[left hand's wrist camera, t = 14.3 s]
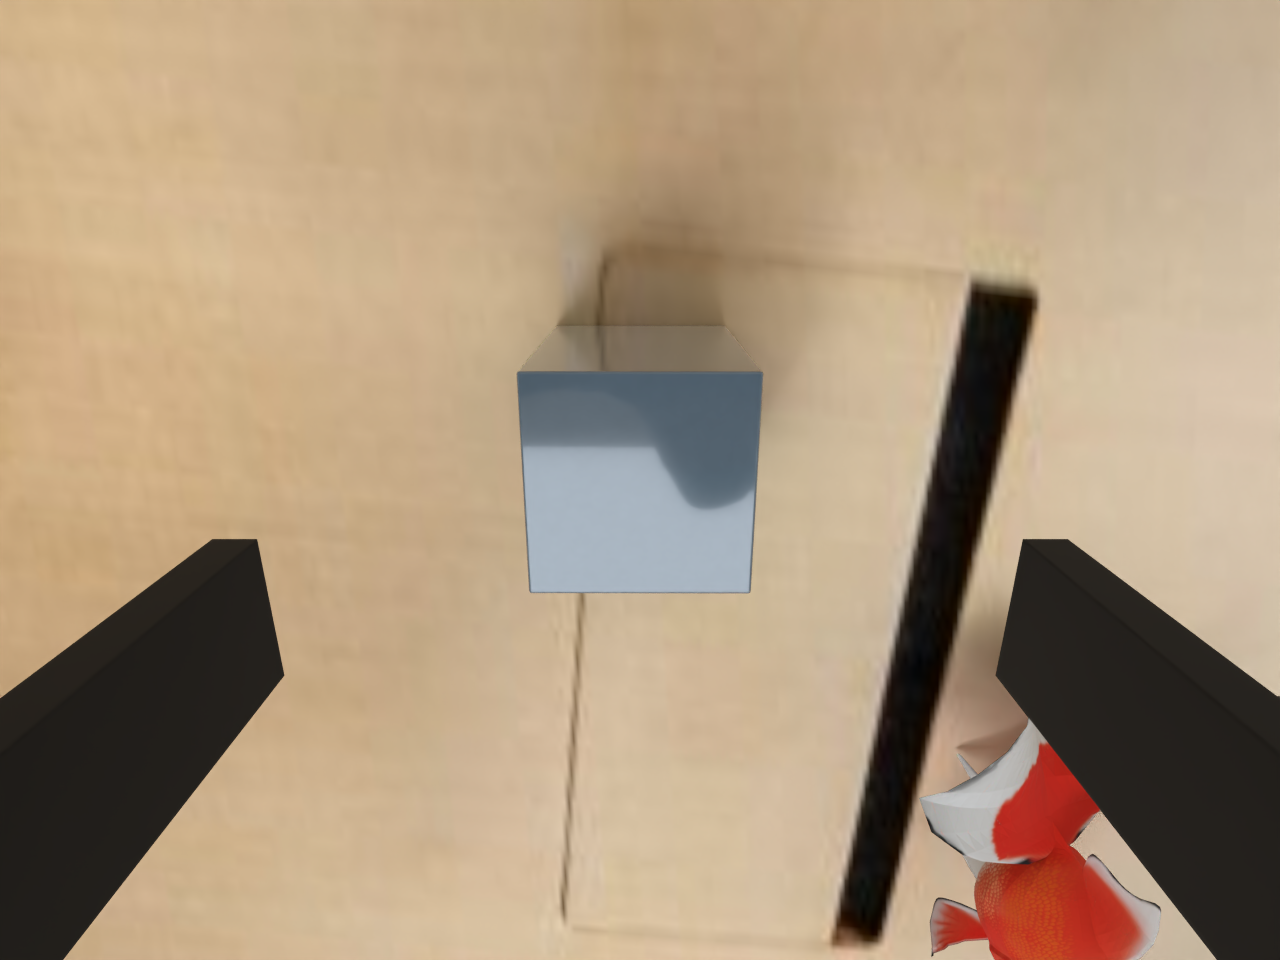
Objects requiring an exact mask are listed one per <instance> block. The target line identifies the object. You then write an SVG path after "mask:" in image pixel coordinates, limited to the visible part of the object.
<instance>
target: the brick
mask: <svg viewBox="0 0 1280 960" xmlns="http://www.w3.org/2000/svg"><path fill="white" fill-rule="evenodd" d="M762 387H763V372H762V371H761V369H760V368H759V367H758V366H757V365H756V363H755V362H754V361H753V360H752V358H751V357H750V356H749V355H748V353H747V352H746V351H745V350H744V348H743V347H742V346H741V345H740V344H739V342H738V341H737V340H736V339H735V337H734V336H733V335H732V334H731V332H730V331H729V330H728V329H727V327H726V326H556V327H555V328H554V329H553V330H552V332H551V333H550V334H549V335H548V336H547V337H546V339H545V340H544V341H543V342H542V343H541V345H540V346H539V347H538V348H537V349H536V350H535V352H534V353H533V354H532V355H531V356H530V358H529V359H528V360H527V361H526V362H525V363H524V365H523V366H522V367H521V368H520V369H519V371H518V372H517V388H518V406H519V423H520V440H521V457H522V474H523V491H524V509H525V526H526V543H527V560H528V577H529V591H530V593H750V591H751V576H752V559H753V542H754V525H755V507H756V490H757V473H758V456H759V438H760V421H761V404H762Z"/></svg>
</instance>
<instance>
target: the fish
mask: <svg viewBox="0 0 1280 960" xmlns="http://www.w3.org/2000/svg"><path fill="white" fill-rule="evenodd" d="M957 756H958V758H959V760H960V762H961V763H962V765H963V767H964V768H965V770H966V772H967V774H968V775H969V777H970V779H969V780H967V781H965V782H964V783H962V784H960V785H958V786H956V787H955V788H953V789H951V790H949V791H947V792H943V793H939V794H935V795H930V796H926V797H922V798H919V799H920V802H921V804H922V807H923V810H924V813H925V815H926V818H927V821H928V824H929V826H930V829H931V832H932V833H934V834H935V835H936V836H938V837H939V838H940V839H942V840H943V841H944V842H946V843H947V844H949V845H950V846H951V847H953V848H954V849H955V850H957V851H958V852H959V853H961V854H962V855H963V857H964V859H965V861H966V862H967V864H968V866H969V868H970V870H971V871H972V873H973V875H974V876H975V878H976V879H977V880H976V883H975V890H974V896H975V904H976V909H977V910H974V909H972V908H970V907H968V906H965V905H963V904H961V903H958V902H955V901H952V900H949V899H945V898H937V899H936V901H935V903H934V907H933V911H932V915H931V919H930V929H931V940H932V955H931V957H932V956H933V953H936V952H938V951H941V950H944V949H945V948H947V947H948V946H950V945H954V944H958V943H961V942H963V941H975V940H989V948H990V951H991V953H992V955H993V957H994V959H995V960H1138V959H1140V958H1141V957H1142V956H1143V955H1144V954H1145V953H1146V952H1147V951H1148V950H1149V949H1150V948H1151V947H1152V946H1153V945H1154V942H1155V939H1156V936H1157V933H1158V931H1159V925H1160V917H1161V909H1160V907H1159V906H1158V905H1157V904H1155V903H1152V902H1149V901H1146V900H1142V899H1140V898H1138V897H1136V896H1134V895H1133V894H1131V893H1130V892H1129V891H1127V890H1126V889H1125V888H1124V887H1123V886H1122V885H1121V884H1120V883H1119V882H1118V880H1117V879H1116V878H1115V877H1114V876H1113V874H1112V873H1111V872H1110V871H1109V870H1108V868H1107V867H1106V866H1105V865H1104V864H1103V863H1102V861H1101V860H1100V859H1099V858H1097V857H1096V856H1095V855H1094V854H1091V855H1090V856H1089V857H1088V859H1087V860H1085V859H1084V858H1083V857H1082V856H1081V855H1080V853H1079V852H1078V851H1077V850H1076V849H1074V848H1073V847H1071V846H1069V845H1070V844H1071V843H1073V842H1074V841H1075V840H1076V839H1077V838H1078V836H1079V835H1080V834H1081V833H1082V831H1083V830H1084V829H1085V828H1086V826H1087V825H1088V824H1089V823H1090V821H1091V820H1092V819H1093V818H1094V817H1095V815H1096V814H1097V813H1098V812H1100V811H1101V810H1100V809H1099V808H1098V806H1097V805H1096V804H1095V802H1094V801H1093V800H1092V799H1091V797H1090V796H1089V795H1088V793H1087V792H1086V791H1085V790H1084V788H1083V787H1082V786H1081V784H1080V783H1079V782H1078V781H1077V779H1076V778H1075V777H1074V775H1073V774H1072V773H1071V772H1070V770H1069V769H1068V768H1067V766H1066V765H1065V764H1064V763H1063V761H1062V760H1061V759H1060V757H1059V756H1058V755H1057V754H1056V752H1055V751H1054V750H1053V748H1052V747H1051V746H1050V745H1049V743H1048V742H1047V741H1046V739H1045V738H1044V737H1043V736H1042V734H1041V733H1040V732H1039V730H1038V729H1037V728H1036V727H1035V725H1034V724H1033V723H1032V721H1031V720H1030V719H1029V718H1028V724H1027V727H1026V728H1025V729H1024V731H1023V732H1022V733H1021V735H1020V736H1019V737H1018V739H1017V740H1016V741H1015V743H1014V744H1013V745H1012V747H1011V748H1010V749H1009V751H1008V752H1007V753H1005V754H1004V755H1003V756H1001V757H1000V758H999V759H998V760H996V761H995V762H994V763H992V764H991V765H990V766H989V767H987V768H986V769H985V770H983V771H982V772H981V773H980V774H977V773H976V772H975V771H974V770H973V769H972V767H971V766H970V765H969V764H968V763H967V762H966V761H965V760H964V758H963V757H962V756H961V755H960V754H957Z"/></svg>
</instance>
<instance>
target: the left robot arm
mask: <svg viewBox="0 0 1280 960" xmlns="http://www.w3.org/2000/svg"><path fill="white" fill-rule="evenodd" d="M283 676H284V671H283V666H282V662H281V657H280V652H279V647H278V642H277V637H276V632H275V627H274V622H273V617H272V612H271V607H270V602H269V597H268V592H267V587H266V582H265V577H264V572H263V567H262V562H261V557H260V552H259V547H258V542H257V539H212V540H211V541H209V542H208V543H207V544H205V545H204V546H203V547H201V548H200V549H199V550H197V551H196V552H195V553H193V554H192V555H191V556H189V557H188V558H187V559H185V560H184V561H183V562H181V563H180V564H179V565H177V566H176V567H175V568H173V569H172V570H171V571H169V572H168V573H167V574H165V575H164V576H163V577H161V578H160V579H159V580H157V581H156V582H155V583H153V584H152V585H151V586H149V587H148V588H147V589H145V590H144V591H143V592H141V593H140V594H139V595H137V596H136V597H135V598H133V599H132V600H131V601H129V602H128V603H127V604H125V605H124V606H123V607H121V608H120V609H119V610H117V611H116V612H115V613H113V614H112V615H111V616H109V617H108V618H107V619H105V620H104V621H103V622H101V623H100V624H99V625H97V626H96V627H95V628H93V629H92V630H91V631H89V632H88V633H87V634H85V635H84V636H83V637H81V638H80V639H79V640H77V641H76V642H75V643H73V644H72V645H71V646H69V647H68V648H67V649H65V650H64V651H63V652H61V653H60V654H59V655H57V656H56V657H55V658H53V659H52V660H51V661H49V662H48V663H47V664H45V665H44V666H43V667H41V668H40V669H39V670H37V671H36V672H35V673H33V674H32V675H31V676H29V677H28V678H27V679H25V680H24V681H23V682H21V683H20V684H19V685H17V686H16V687H15V688H13V689H12V690H11V691H9V692H8V693H7V694H5V695H4V696H3V697H1V698H0V960H63V959H64V958H65V957H66V955H67V954H68V953H69V951H70V950H71V949H72V948H73V946H74V945H75V944H76V943H77V941H78V940H79V939H80V937H81V936H82V935H83V934H84V932H85V931H86V930H87V928H88V927H89V926H90V925H91V923H92V922H93V921H94V919H95V918H96V917H97V916H98V914H99V913H100V912H101V910H102V909H103V908H104V907H105V905H106V904H107V903H108V901H109V900H110V899H111V898H112V896H113V895H114V894H115V892H116V891H117V890H118V889H119V887H120V886H121V885H122V883H123V882H124V881H125V880H126V878H127V877H128V876H129V874H130V873H131V872H132V871H133V869H134V868H135V867H136V865H137V864H138V863H139V862H140V860H141V859H142V858H143V856H144V855H145V854H146V853H147V851H148V850H149V849H150V847H151V846H152V845H153V844H154V842H155V841H156V840H157V838H158V837H159V836H160V835H161V833H162V832H163V831H164V829H165V828H166V827H167V826H168V824H169V823H170V822H171V820H172V819H173V818H174V817H175V815H176V814H177V813H178V811H179V810H180V809H181V808H182V806H183V805H184V804H185V802H186V801H187V800H188V799H189V797H190V796H191V795H192V793H193V792H194V791H195V790H196V788H197V787H198V786H199V784H200V783H201V782H202V781H203V779H204V778H205V777H206V775H207V774H208V773H209V772H210V770H211V769H212V768H213V766H214V765H215V764H216V763H217V761H218V760H219V759H220V757H221V756H222V755H223V754H224V752H225V751H226V750H227V748H228V747H229V746H230V745H231V743H232V742H233V741H234V739H235V738H236V737H237V736H238V734H239V733H240V732H241V730H242V729H243V728H244V727H245V725H246V724H247V723H248V721H249V720H250V719H251V718H252V716H253V715H254V714H255V712H256V711H257V710H258V709H259V707H260V706H261V705H262V703H263V702H264V701H265V700H266V698H267V697H268V696H269V694H270V693H271V692H272V691H273V689H274V688H275V687H276V685H277V684H278V683H279V682H280V680H281V679H282V678H283ZM996 677H997V678H998V679H999V680H1000V682H1001V683H1002V684H1003V685H1004V687H1005V688H1006V689H1007V691H1008V692H1009V693H1010V694H1011V696H1012V697H1013V698H1014V700H1015V701H1016V702H1017V703H1018V705H1019V706H1020V707H1021V709H1022V710H1023V711H1024V712H1025V714H1026V715H1027V716H1028V718H1029V719H1030V720H1031V721H1032V723H1033V724H1034V725H1035V727H1036V728H1037V729H1038V730H1039V732H1040V733H1041V734H1042V736H1043V737H1044V738H1045V739H1046V741H1047V742H1048V743H1049V745H1050V746H1051V747H1052V748H1053V750H1054V751H1055V752H1056V754H1057V755H1058V756H1059V757H1060V759H1061V760H1062V761H1063V763H1064V764H1065V765H1066V766H1067V768H1068V769H1069V770H1070V772H1071V773H1072V774H1073V775H1074V777H1075V778H1076V779H1077V781H1078V782H1079V783H1080V784H1081V786H1082V787H1083V788H1084V790H1085V791H1086V792H1087V793H1088V795H1089V796H1090V797H1091V799H1092V800H1093V801H1094V802H1095V804H1096V805H1097V806H1098V808H1099V809H1100V810H1101V811H1102V813H1103V814H1104V815H1105V817H1106V818H1107V819H1108V820H1109V822H1110V823H1111V824H1112V826H1113V827H1114V828H1115V829H1116V831H1117V832H1118V833H1119V835H1120V836H1121V837H1122V838H1123V840H1124V841H1125V842H1126V844H1127V845H1128V846H1129V847H1130V849H1131V850H1132V851H1133V853H1134V854H1135V855H1136V856H1137V858H1138V859H1139V860H1140V862H1141V863H1142V864H1143V865H1144V867H1145V868H1146V869H1147V871H1148V872H1149V873H1150V874H1151V876H1152V877H1153V878H1154V880H1155V881H1156V882H1157V883H1158V885H1159V886H1160V887H1161V889H1162V890H1163V891H1164V892H1165V894H1166V895H1167V896H1168V898H1169V899H1170V900H1171V901H1172V903H1173V904H1174V905H1175V907H1176V908H1177V909H1178V910H1179V912H1180V913H1181V914H1182V916H1183V917H1184V918H1185V919H1186V921H1187V922H1188V923H1189V925H1190V926H1191V927H1192V928H1193V930H1194V931H1195V932H1196V934H1197V935H1198V936H1199V937H1200V939H1201V940H1202V941H1203V943H1204V944H1205V945H1206V946H1207V948H1208V949H1209V950H1210V951H1211V953H1212V954H1213V955H1214V957H1215V958H1216V959H1217V960H1280V696H1276V695H1275V694H1273V693H1272V692H1271V691H1269V690H1268V689H1267V688H1265V687H1264V686H1263V685H1261V684H1260V683H1259V682H1257V681H1256V680H1255V679H1253V678H1252V677H1251V676H1249V675H1248V674H1247V673H1245V672H1244V671H1243V670H1241V669H1240V668H1239V667H1237V666H1236V665H1235V664H1233V663H1232V662H1231V661H1229V660H1228V659H1227V658H1225V657H1224V656H1223V655H1221V654H1220V653H1219V652H1217V651H1216V650H1215V649H1213V648H1212V647H1211V646H1209V645H1208V644H1207V643H1205V642H1204V641H1203V640H1201V639H1200V638H1199V637H1197V636H1196V635H1195V634H1193V633H1192V632H1191V631H1189V630H1188V629H1187V628H1185V627H1184V626H1183V625H1181V624H1180V623H1179V622H1177V621H1176V620H1175V619H1173V618H1172V617H1171V616H1169V615H1168V614H1167V613H1165V612H1164V611H1163V610H1161V609H1160V608H1159V607H1157V606H1156V605H1155V604H1153V603H1152V602H1151V601H1149V600H1148V599H1147V598H1145V597H1144V596H1143V595H1141V594H1140V593H1139V592H1137V591H1136V590H1135V589H1133V588H1132V587H1131V586H1129V585H1128V584H1127V583H1125V582H1124V581H1123V580H1121V579H1120V578H1119V577H1117V576H1116V575H1115V574H1113V573H1112V572H1111V571H1109V570H1108V569H1107V568H1105V567H1104V566H1103V565H1101V564H1100V563H1099V562H1097V561H1096V560H1095V559H1093V558H1092V557H1091V556H1089V555H1088V554H1087V553H1085V552H1084V551H1083V550H1081V549H1080V548H1079V547H1077V546H1076V545H1075V544H1073V543H1072V542H1071V541H1069V540H1068V539H1023V542H1022V547H1021V552H1020V557H1019V562H1018V567H1017V572H1016V577H1015V582H1014V587H1013V592H1012V597H1011V602H1010V607H1009V612H1008V617H1007V622H1006V627H1005V632H1004V637H1003V642H1002V647H1001V652H1000V657H999V661H998V666H997V671H996Z"/></svg>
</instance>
